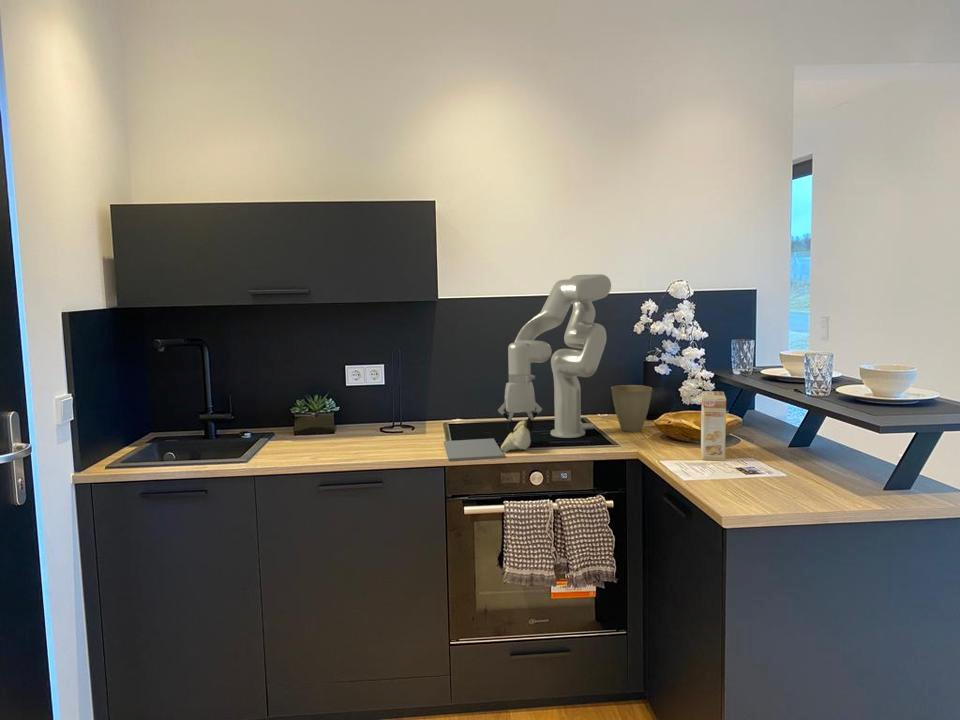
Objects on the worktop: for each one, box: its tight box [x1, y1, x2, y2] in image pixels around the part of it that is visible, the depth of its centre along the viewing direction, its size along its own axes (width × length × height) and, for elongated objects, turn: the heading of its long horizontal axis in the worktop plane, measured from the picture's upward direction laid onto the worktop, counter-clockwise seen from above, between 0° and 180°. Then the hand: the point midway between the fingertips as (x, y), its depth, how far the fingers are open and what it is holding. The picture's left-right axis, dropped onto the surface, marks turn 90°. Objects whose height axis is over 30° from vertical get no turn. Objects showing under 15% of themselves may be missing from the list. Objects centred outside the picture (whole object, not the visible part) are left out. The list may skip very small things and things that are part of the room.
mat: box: [443, 438, 505, 462], centre depth 236 cm, size 18×24×1 cm
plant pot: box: [610, 384, 653, 433], centre depth 259 cm, size 15×15×16 cm
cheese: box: [500, 419, 532, 453], centre depth 236 cm, size 15×7×15 cm
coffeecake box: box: [700, 390, 727, 462], centre depth 221 cm, size 15×7×20 cm, turn 164°
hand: (520, 430), depth 237 cm, fingers closed on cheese, 5 cm apart
